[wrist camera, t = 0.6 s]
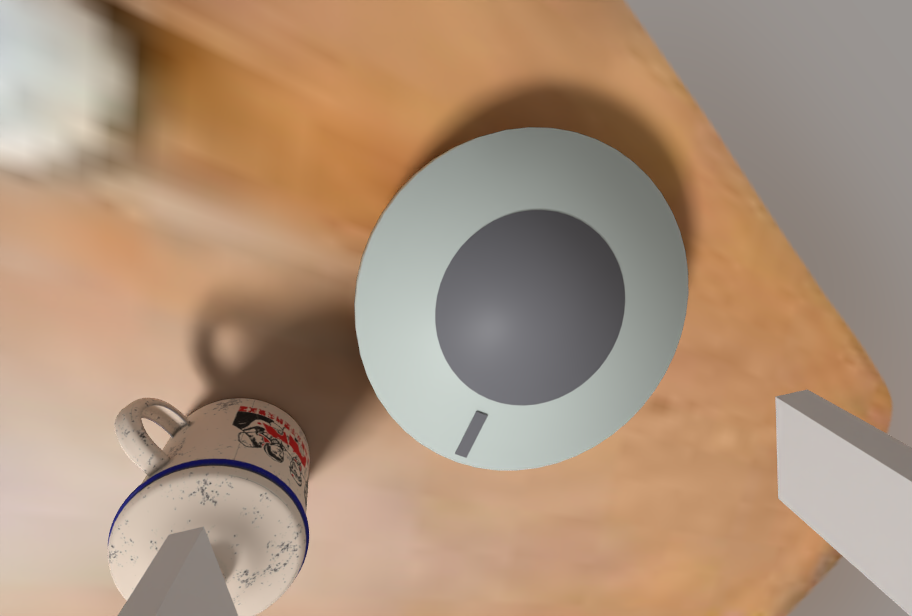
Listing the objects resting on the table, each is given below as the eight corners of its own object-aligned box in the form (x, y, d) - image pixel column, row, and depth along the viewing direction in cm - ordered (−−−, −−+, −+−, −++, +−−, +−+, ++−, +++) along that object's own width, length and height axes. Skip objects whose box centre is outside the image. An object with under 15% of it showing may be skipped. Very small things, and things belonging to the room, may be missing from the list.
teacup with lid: (342, 465, 36) (347, 593, 25) (228, 547, 35) (182, 714, 24) (221, 327, 32) (163, 405, 21) (92, 417, 31) (-37, 545, 20)
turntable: (451, 58, 29) (457, 51, 27) (727, 226, 35) (745, 228, 34) (295, 395, 31) (294, 406, 30) (581, 496, 38) (591, 509, 36)
